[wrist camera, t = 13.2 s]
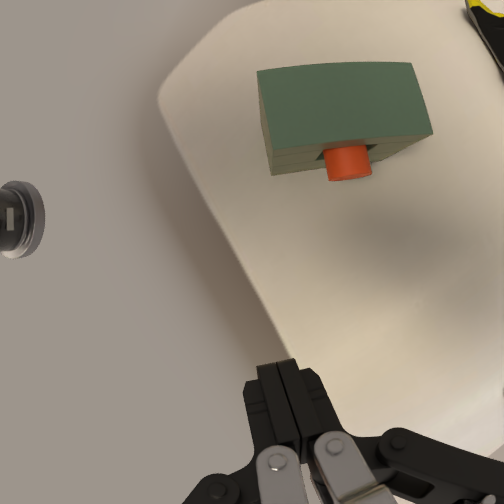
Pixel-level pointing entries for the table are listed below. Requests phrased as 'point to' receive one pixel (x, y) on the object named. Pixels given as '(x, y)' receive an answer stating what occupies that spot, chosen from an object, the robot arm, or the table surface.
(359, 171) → the push knob
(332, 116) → the block
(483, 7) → the toy running shoe
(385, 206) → the table surface
